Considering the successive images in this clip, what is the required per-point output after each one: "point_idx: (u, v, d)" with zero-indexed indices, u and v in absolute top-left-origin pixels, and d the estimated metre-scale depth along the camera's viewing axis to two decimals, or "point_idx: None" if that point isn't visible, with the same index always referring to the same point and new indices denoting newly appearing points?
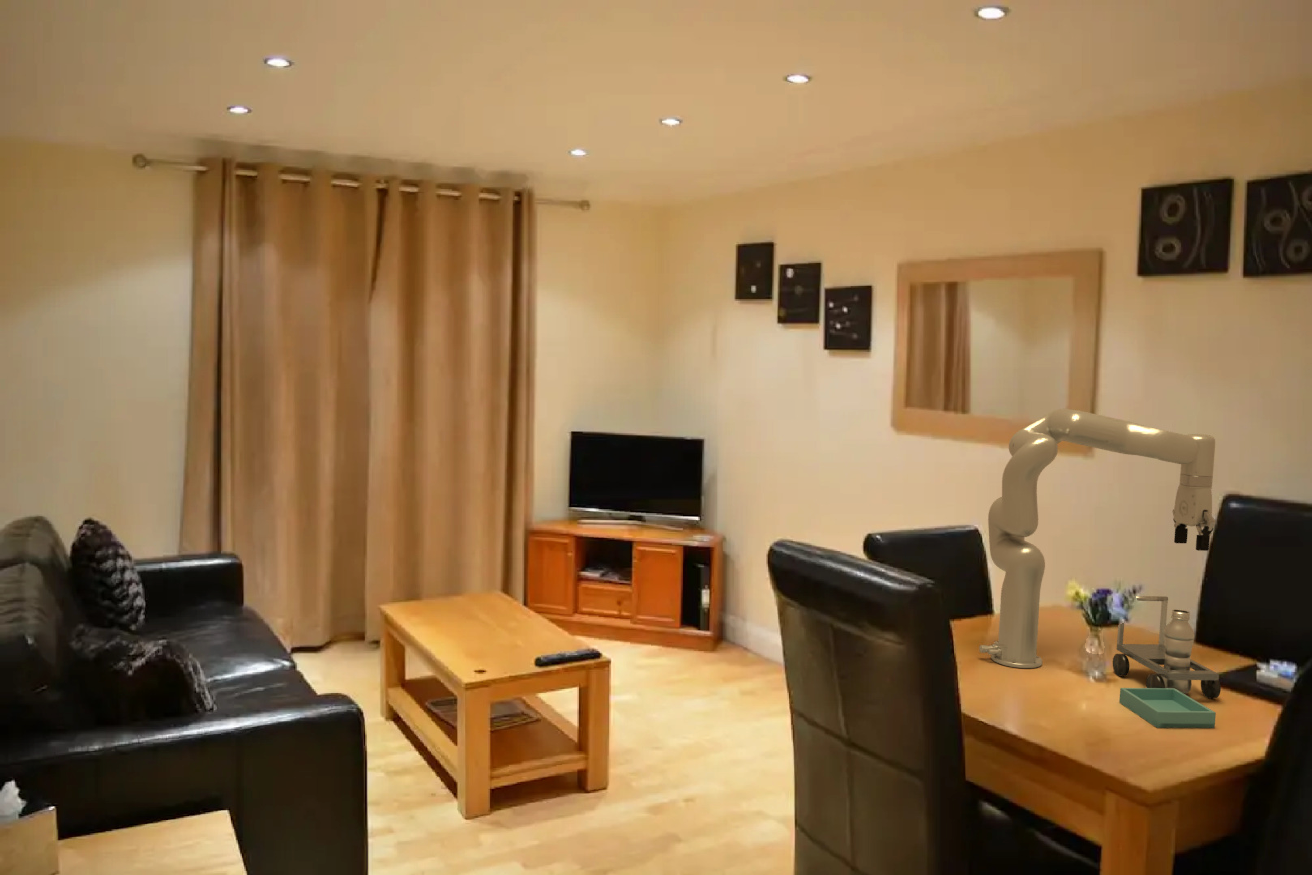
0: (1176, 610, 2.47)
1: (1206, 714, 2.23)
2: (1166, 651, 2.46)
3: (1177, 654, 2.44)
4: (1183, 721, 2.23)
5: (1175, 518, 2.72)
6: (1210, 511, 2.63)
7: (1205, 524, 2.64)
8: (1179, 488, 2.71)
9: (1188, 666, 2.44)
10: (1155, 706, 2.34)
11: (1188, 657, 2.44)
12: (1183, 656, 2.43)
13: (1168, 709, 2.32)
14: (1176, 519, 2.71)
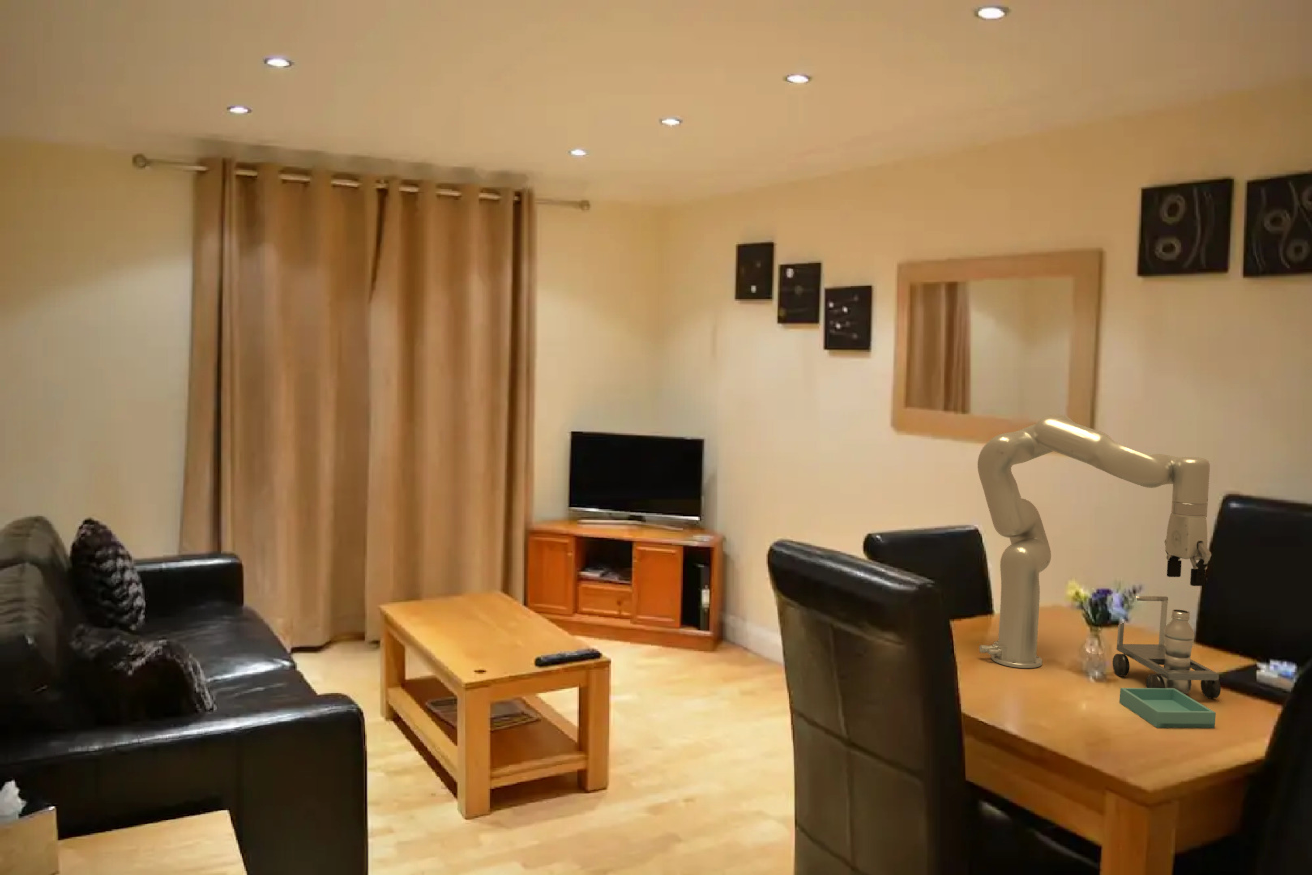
0: (1176, 610, 2.47)
1: (1206, 714, 2.23)
2: (1166, 651, 2.46)
3: (1177, 654, 2.44)
4: (1183, 721, 2.23)
5: (1167, 549, 2.47)
6: (1205, 542, 2.39)
7: (1200, 557, 2.39)
8: (1171, 517, 2.46)
9: (1188, 666, 2.44)
10: (1155, 706, 2.34)
11: (1188, 657, 2.44)
12: (1183, 656, 2.43)
13: (1168, 709, 2.32)
14: (1168, 551, 2.46)
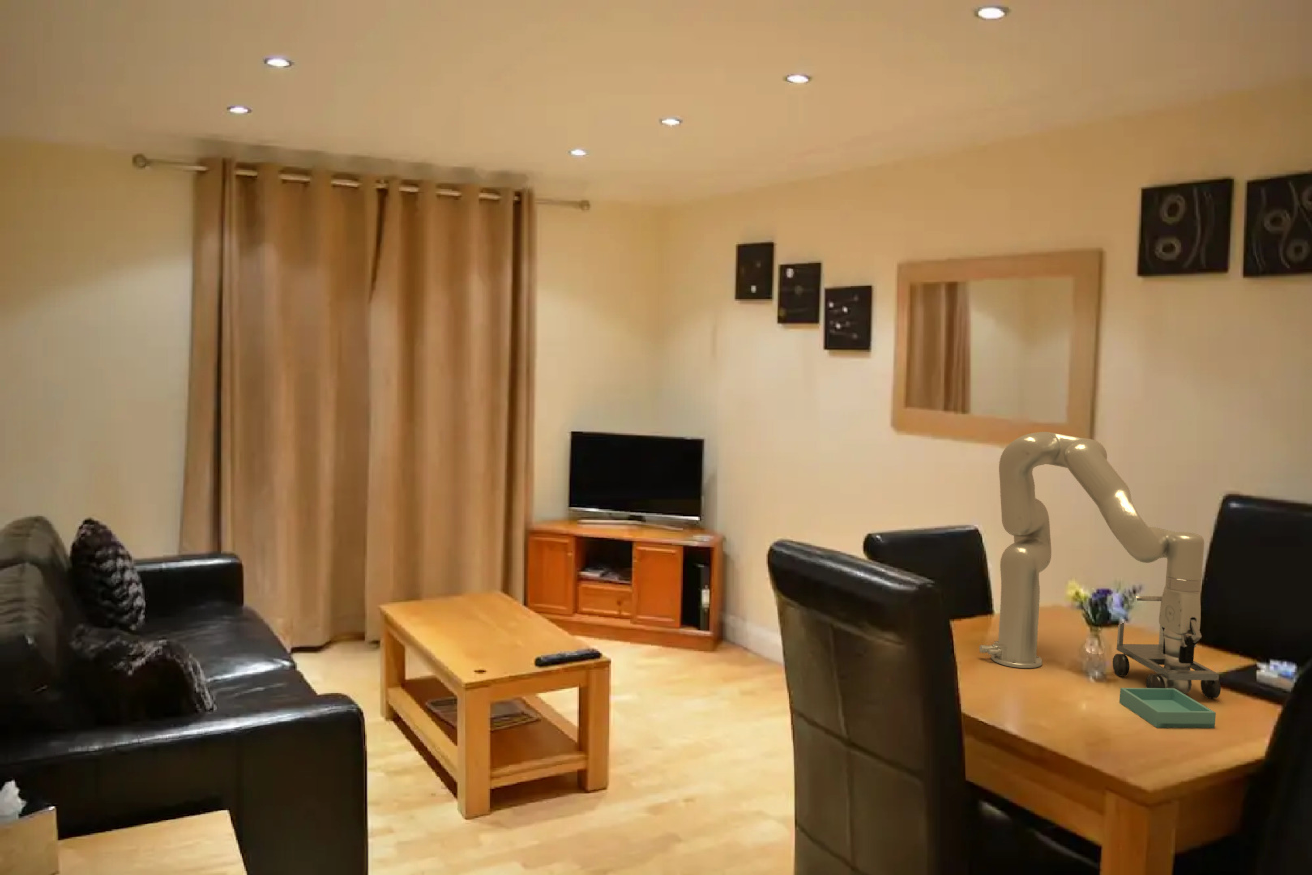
0: None
1: (1206, 714, 2.23)
2: (1166, 651, 2.46)
3: (1178, 654, 2.44)
4: (1183, 721, 2.23)
5: (1161, 623, 2.49)
6: (1198, 619, 2.40)
7: (1191, 634, 2.42)
8: (1165, 590, 2.48)
9: (1188, 666, 2.44)
10: (1155, 706, 2.34)
11: None
12: None
13: (1168, 709, 2.32)
14: (1162, 624, 2.48)
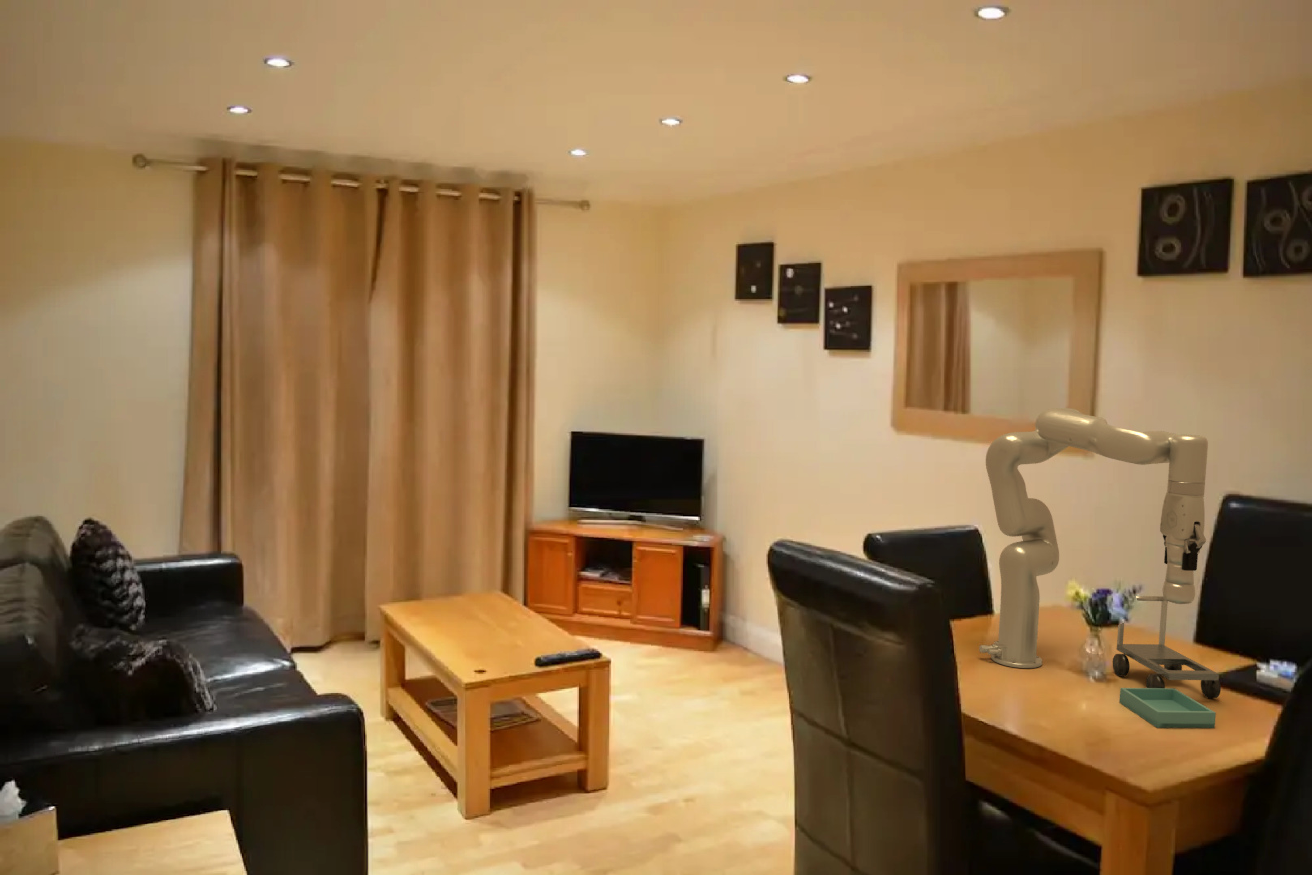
0: None
1: (1206, 714, 2.23)
2: (1168, 559, 2.35)
3: (1181, 561, 2.33)
4: (1183, 721, 2.23)
5: (1162, 530, 2.38)
6: (1202, 523, 2.30)
7: (1194, 540, 2.31)
8: (1166, 496, 2.37)
9: (1191, 574, 2.33)
10: (1155, 706, 2.34)
11: None
12: None
13: (1168, 709, 2.32)
14: (1163, 532, 2.37)
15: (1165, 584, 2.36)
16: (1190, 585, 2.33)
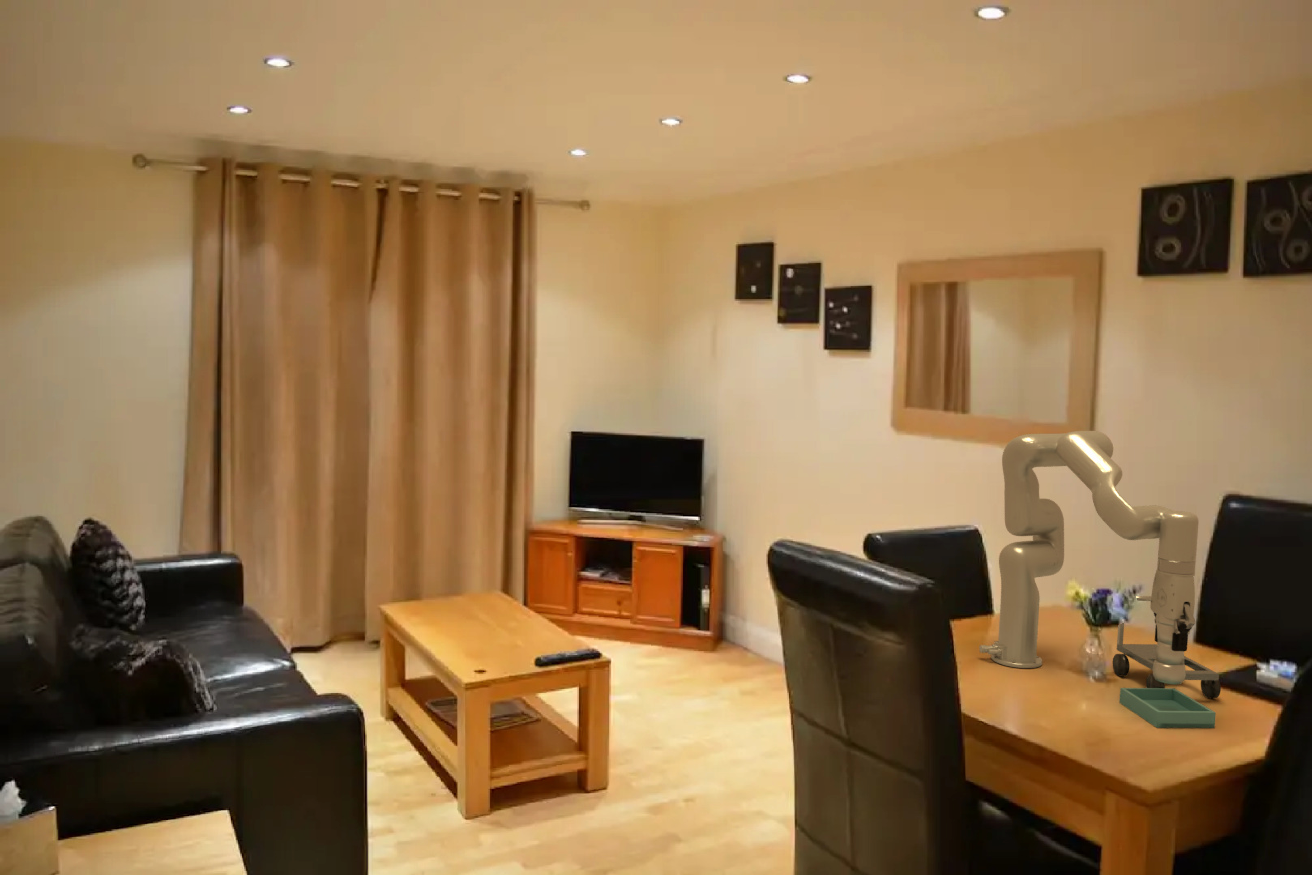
0: None
1: (1206, 714, 2.23)
2: (1158, 638, 2.30)
3: (1170, 641, 2.28)
4: (1183, 721, 2.23)
5: (1152, 608, 2.32)
6: (1192, 603, 2.24)
7: (1184, 620, 2.26)
8: (1157, 573, 2.31)
9: (1182, 654, 2.28)
10: (1155, 706, 2.34)
11: None
12: None
13: (1168, 709, 2.32)
14: (1153, 609, 2.32)
15: (1155, 663, 2.31)
16: (1181, 665, 2.28)
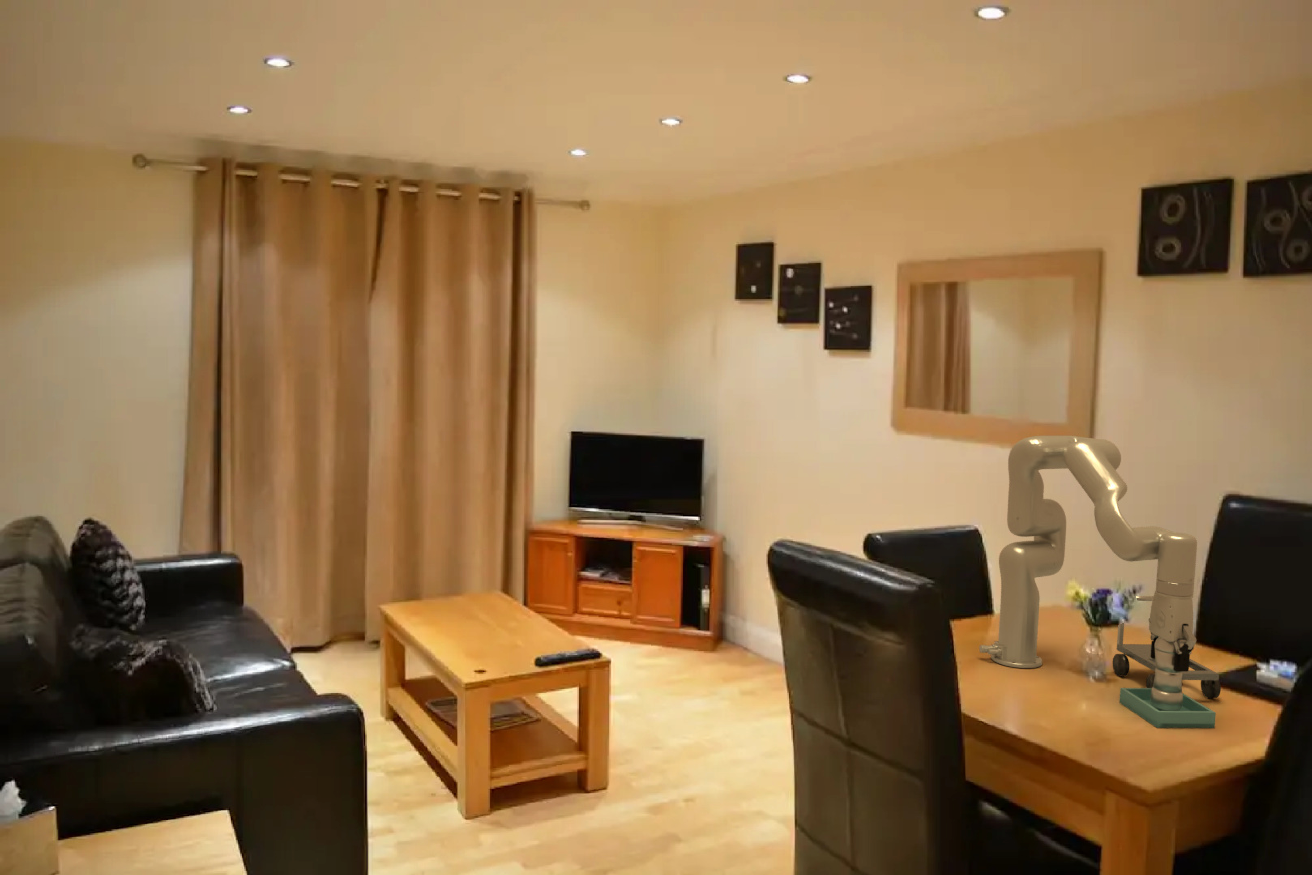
0: None
1: (1206, 714, 2.23)
2: (1157, 665, 2.30)
3: (1169, 668, 2.28)
4: (1183, 721, 2.23)
5: (1151, 629, 2.33)
6: (1191, 625, 2.25)
7: (1185, 640, 2.25)
8: (1155, 595, 2.32)
9: (1180, 682, 2.28)
10: None
11: (1180, 672, 2.28)
12: (1175, 671, 2.28)
13: None
14: (1152, 630, 2.32)
15: (1153, 690, 2.31)
16: (1178, 693, 2.28)
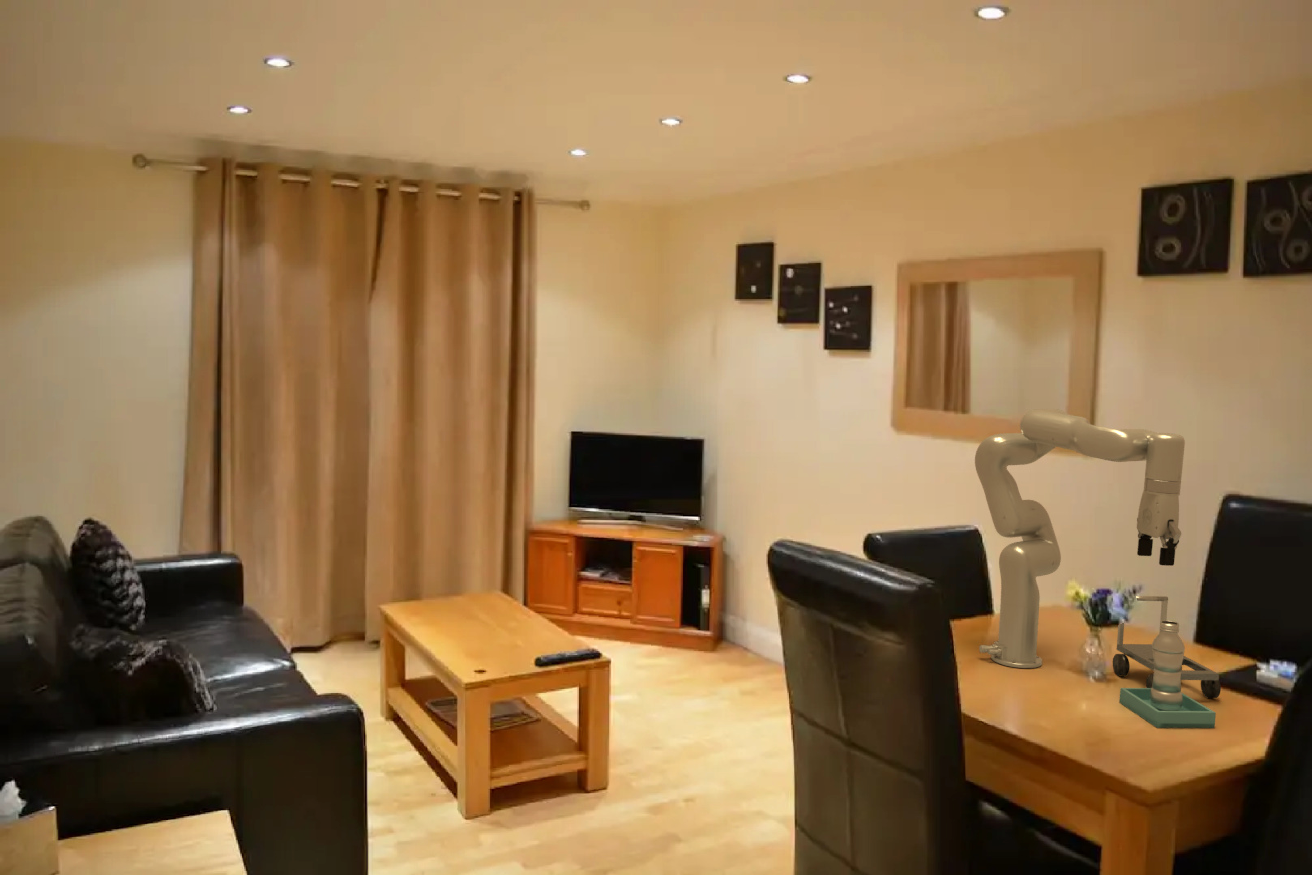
0: (1164, 621, 2.31)
1: (1206, 714, 2.23)
2: (1155, 666, 2.30)
3: (1167, 668, 2.28)
4: (1183, 721, 2.23)
5: (1138, 527, 2.40)
6: (1176, 521, 2.32)
7: (1170, 536, 2.32)
8: (1143, 494, 2.39)
9: (1179, 681, 2.29)
10: None
11: (1178, 672, 2.28)
12: (1173, 671, 2.28)
13: None
14: (1139, 529, 2.40)
15: (1152, 691, 2.31)
16: (1178, 692, 2.28)
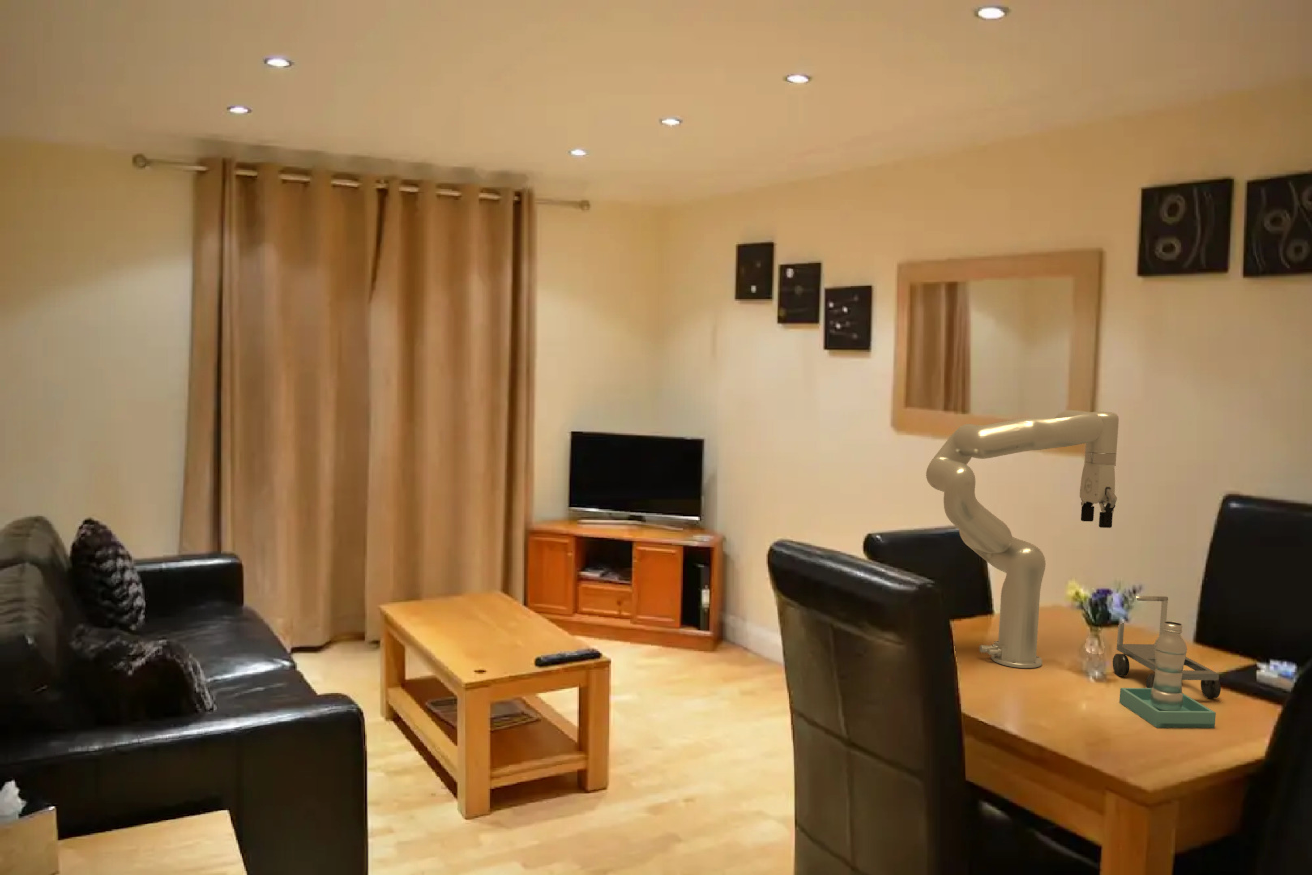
0: (1168, 622, 2.31)
1: (1206, 714, 2.23)
2: (1157, 666, 2.30)
3: (1169, 669, 2.28)
4: (1183, 721, 2.23)
5: (1081, 496, 2.72)
6: (1113, 488, 2.63)
7: (1108, 501, 2.64)
8: (1084, 466, 2.71)
9: (1180, 682, 2.28)
10: None
11: (1180, 672, 2.28)
12: (1175, 671, 2.28)
13: None
14: (1082, 497, 2.71)
15: (1153, 691, 2.31)
16: (1178, 693, 2.28)
